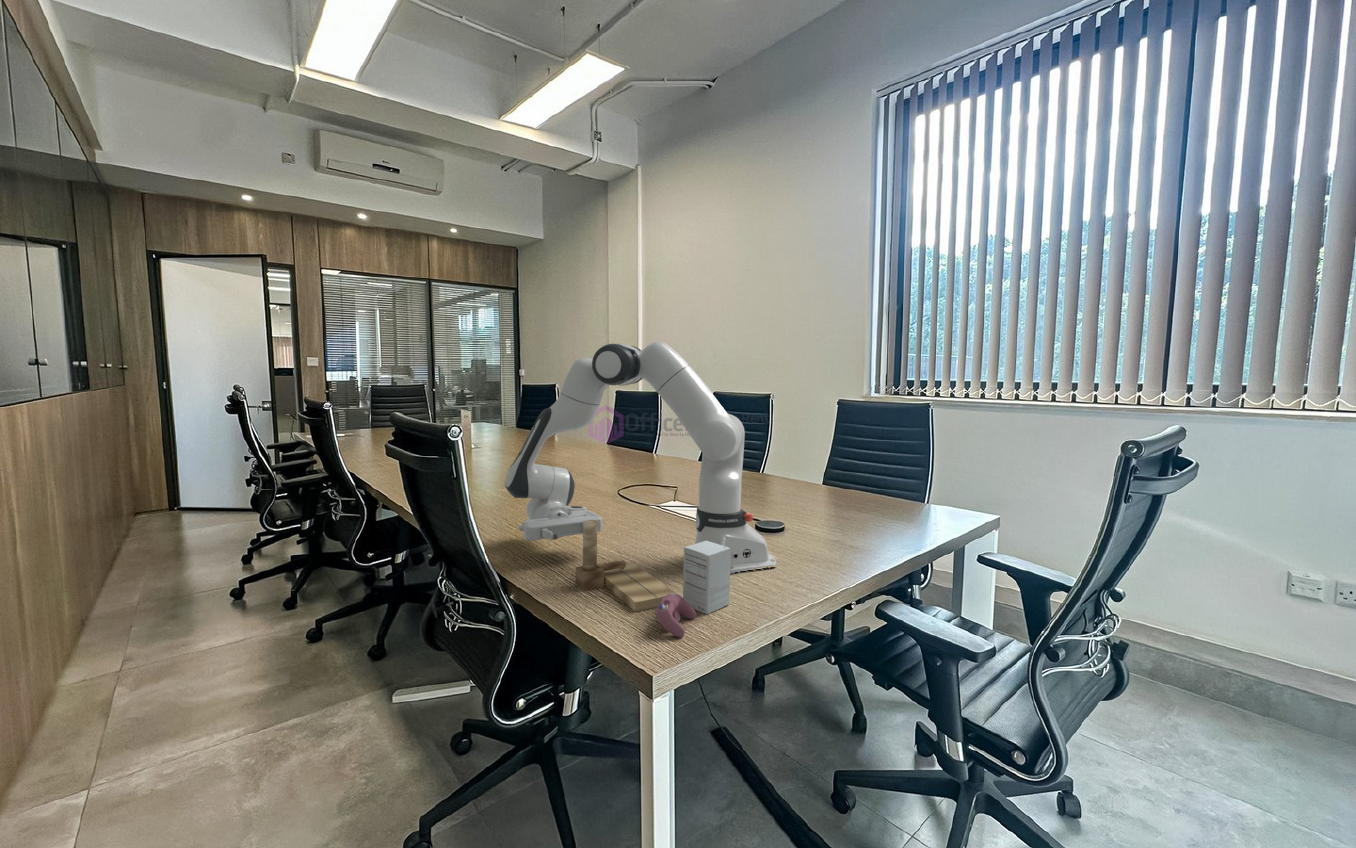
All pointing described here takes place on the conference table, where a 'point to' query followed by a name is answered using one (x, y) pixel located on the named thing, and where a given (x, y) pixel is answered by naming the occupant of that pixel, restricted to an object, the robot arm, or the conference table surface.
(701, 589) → the supplement box
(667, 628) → the video game controller
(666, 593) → the board
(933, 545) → the conference table surface
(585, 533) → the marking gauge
